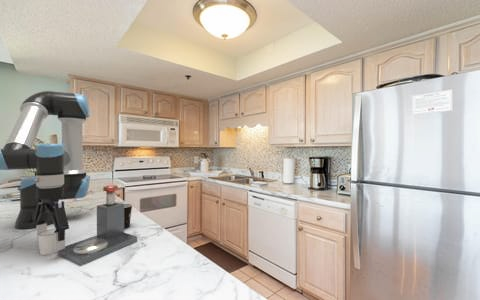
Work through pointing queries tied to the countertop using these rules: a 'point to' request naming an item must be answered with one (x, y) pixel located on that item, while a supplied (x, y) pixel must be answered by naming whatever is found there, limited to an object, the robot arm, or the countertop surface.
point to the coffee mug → (127, 215)
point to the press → (101, 237)
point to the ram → (110, 194)
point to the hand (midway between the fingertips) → (50, 246)
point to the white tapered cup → (47, 242)
